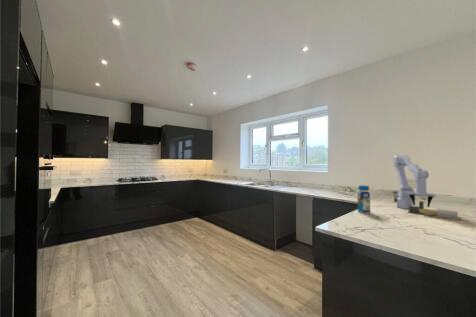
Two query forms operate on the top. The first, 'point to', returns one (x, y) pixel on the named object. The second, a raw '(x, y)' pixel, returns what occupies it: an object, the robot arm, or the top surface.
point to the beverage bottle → (363, 199)
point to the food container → (395, 195)
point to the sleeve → (447, 214)
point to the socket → (413, 209)
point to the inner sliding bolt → (429, 211)
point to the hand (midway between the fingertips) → (421, 205)
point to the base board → (435, 216)
